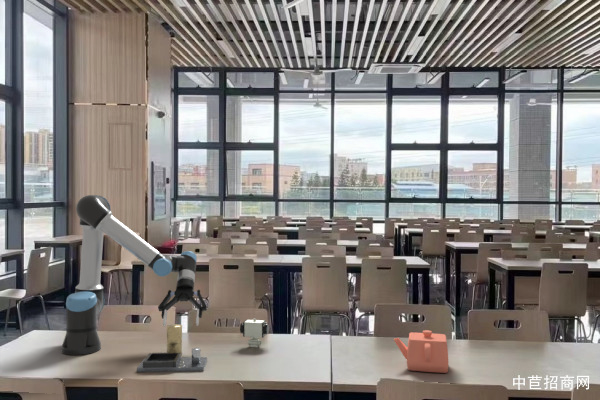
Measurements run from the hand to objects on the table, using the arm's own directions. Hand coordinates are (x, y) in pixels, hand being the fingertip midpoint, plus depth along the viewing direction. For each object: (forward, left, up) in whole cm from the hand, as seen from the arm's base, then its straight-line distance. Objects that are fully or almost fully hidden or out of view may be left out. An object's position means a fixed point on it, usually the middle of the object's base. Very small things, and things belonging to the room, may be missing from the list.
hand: (180, 324), depth 223 cm
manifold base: (+1, -21, -11) cm, 23 cm away
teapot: (+94, -27, -11) cm, 98 cm away
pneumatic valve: (+31, +5, -11) cm, 33 cm away
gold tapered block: (-1, -7, -11) cm, 13 cm away
